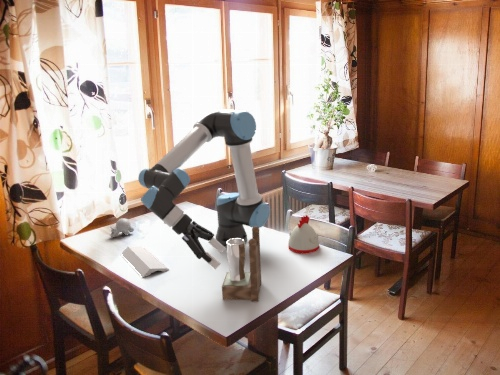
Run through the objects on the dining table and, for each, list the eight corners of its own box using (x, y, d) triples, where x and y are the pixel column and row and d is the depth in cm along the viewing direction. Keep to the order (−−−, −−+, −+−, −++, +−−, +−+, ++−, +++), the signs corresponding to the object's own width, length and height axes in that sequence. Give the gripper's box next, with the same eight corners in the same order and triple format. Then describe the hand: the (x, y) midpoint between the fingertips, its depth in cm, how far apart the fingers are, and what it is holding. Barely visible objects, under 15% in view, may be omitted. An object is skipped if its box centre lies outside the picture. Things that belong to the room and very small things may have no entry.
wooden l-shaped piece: (222, 301, 172) (218, 240, 165) (228, 282, 186) (224, 225, 180) (258, 301, 171) (255, 240, 164) (261, 282, 185) (259, 225, 178)
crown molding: (169, 271, 199) (168, 263, 198) (141, 279, 193) (140, 271, 192) (145, 249, 223) (144, 242, 222) (119, 256, 217) (118, 248, 216)
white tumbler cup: (224, 278, 178) (222, 242, 173) (237, 272, 182) (235, 236, 178) (237, 284, 173) (235, 246, 169) (250, 277, 177) (248, 240, 173)
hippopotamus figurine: (111, 240, 241) (103, 227, 237) (131, 226, 246) (123, 213, 242) (116, 244, 235) (108, 231, 232) (136, 230, 240) (128, 217, 236)
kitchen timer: (324, 246, 216) (324, 215, 212) (307, 256, 206) (307, 224, 202) (300, 239, 225) (299, 209, 221) (282, 248, 215) (281, 217, 211)
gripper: (179, 215, 185) (219, 251, 188) (162, 240, 162) (208, 280, 164) (191, 203, 183) (231, 238, 186) (176, 225, 160) (222, 266, 162)
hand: (220, 258), depth 175 cm, fingers open, 13 cm apart
